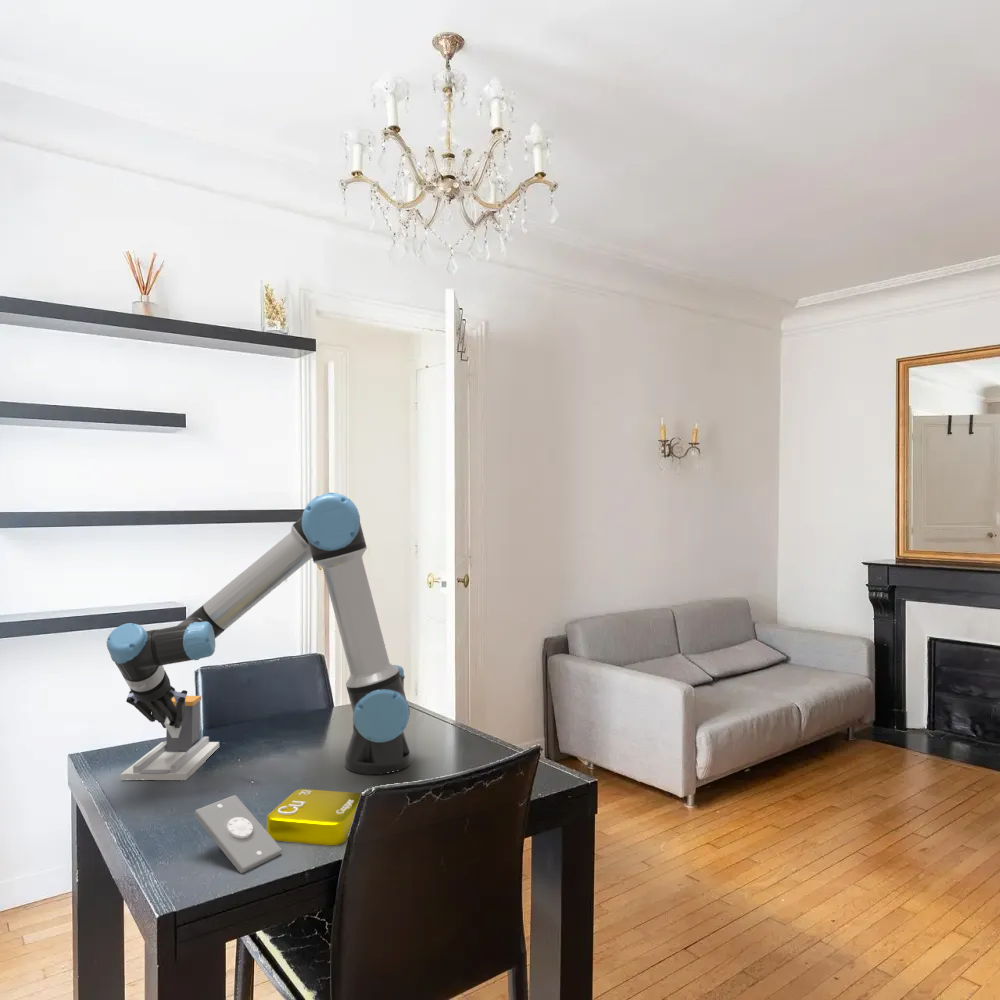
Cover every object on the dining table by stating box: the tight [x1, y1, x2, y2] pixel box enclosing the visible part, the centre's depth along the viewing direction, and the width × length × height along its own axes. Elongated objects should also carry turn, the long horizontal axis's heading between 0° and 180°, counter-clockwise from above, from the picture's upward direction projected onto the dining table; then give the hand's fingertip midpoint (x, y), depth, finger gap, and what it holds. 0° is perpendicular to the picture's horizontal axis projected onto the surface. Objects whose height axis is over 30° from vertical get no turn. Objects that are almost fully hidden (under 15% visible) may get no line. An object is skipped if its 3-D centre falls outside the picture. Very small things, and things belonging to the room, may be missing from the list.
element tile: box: [266, 788, 361, 846], centre depth 145 cm, size 15×15×5 cm
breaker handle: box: [165, 695, 202, 751], centre depth 184 cm, size 5×6×12 cm
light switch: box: [193, 794, 283, 874], centre depth 133 cm, size 8×6×14 cm
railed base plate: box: [120, 736, 220, 782], centre depth 178 cm, size 22×14×3 cm, turn 2°
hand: (176, 732), depth 180 cm, fingers closed
